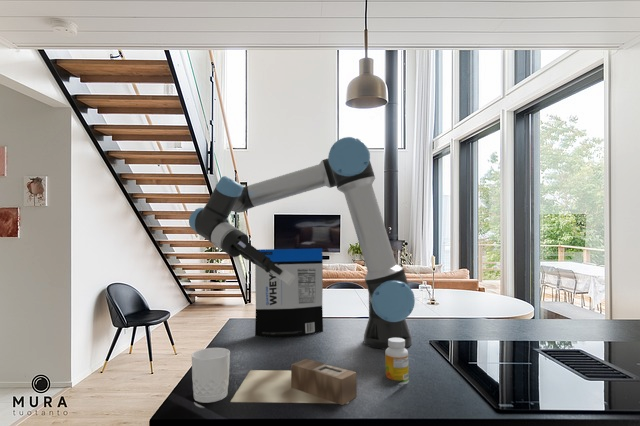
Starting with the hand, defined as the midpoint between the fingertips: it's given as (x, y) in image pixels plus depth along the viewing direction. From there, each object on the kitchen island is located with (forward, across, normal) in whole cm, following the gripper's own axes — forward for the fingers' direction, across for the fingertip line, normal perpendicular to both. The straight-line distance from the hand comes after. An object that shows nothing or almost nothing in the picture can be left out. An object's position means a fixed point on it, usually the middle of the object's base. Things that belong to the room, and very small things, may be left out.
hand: (291, 280), depth 100 cm
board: (+17, +1, -20) cm, 27 cm away
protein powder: (-7, -41, -11) cm, 43 cm away
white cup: (+6, +10, -32) cm, 34 cm away
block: (+16, +2, -17) cm, 23 cm away
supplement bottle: (+34, -8, -5) cm, 36 cm away
